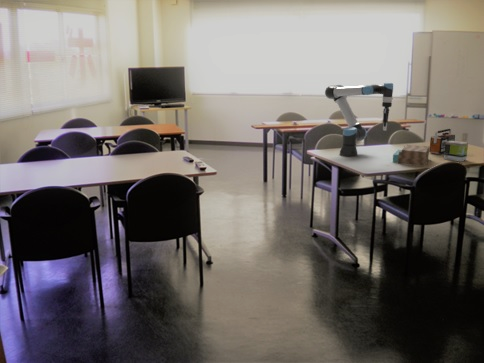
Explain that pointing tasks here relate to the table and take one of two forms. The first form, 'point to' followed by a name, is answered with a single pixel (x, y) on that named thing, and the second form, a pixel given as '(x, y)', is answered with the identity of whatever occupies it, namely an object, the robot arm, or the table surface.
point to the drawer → (396, 156)
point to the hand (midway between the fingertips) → (384, 130)
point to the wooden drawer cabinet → (414, 155)
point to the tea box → (455, 150)
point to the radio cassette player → (440, 141)
